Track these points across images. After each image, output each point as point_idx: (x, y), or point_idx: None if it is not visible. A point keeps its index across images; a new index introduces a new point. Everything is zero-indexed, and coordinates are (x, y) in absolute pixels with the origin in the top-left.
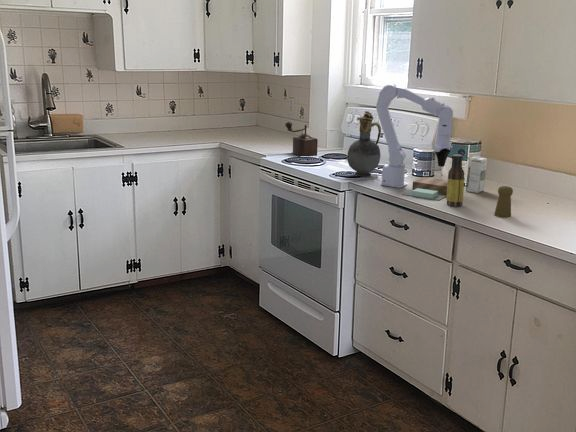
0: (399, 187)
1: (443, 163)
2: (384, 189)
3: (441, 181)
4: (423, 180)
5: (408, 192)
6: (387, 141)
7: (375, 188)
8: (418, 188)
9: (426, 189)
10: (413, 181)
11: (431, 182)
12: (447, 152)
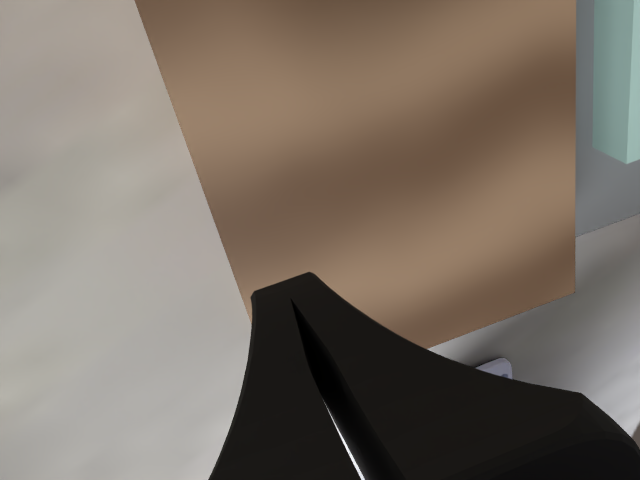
0: (508, 361)
1: (340, 301)
2: (609, 373)
3: (332, 117)
4: (451, 276)
5: (626, 198)
6: None
7: (617, 418)
8: (636, 146)
9: (632, 62)
10: (567, 292)
11: (485, 152)
12: (514, 435)
